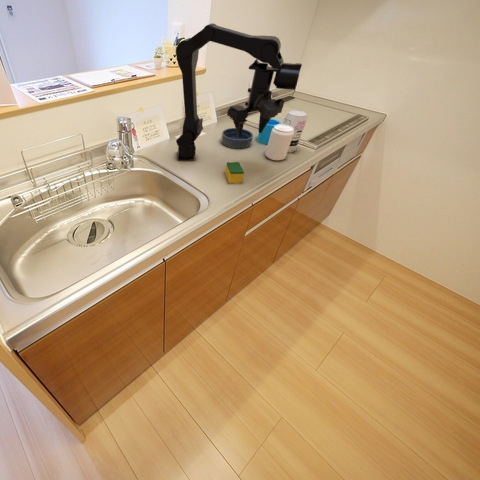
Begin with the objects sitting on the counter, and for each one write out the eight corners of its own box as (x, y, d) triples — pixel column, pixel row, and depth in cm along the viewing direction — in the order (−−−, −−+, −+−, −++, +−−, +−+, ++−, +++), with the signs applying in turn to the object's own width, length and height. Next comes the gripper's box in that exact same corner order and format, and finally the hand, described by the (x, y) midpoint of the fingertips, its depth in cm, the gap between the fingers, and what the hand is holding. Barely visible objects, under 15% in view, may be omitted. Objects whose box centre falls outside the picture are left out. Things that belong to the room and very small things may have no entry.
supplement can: (279, 143, 122) (290, 107, 112) (298, 148, 118) (311, 112, 108) (272, 149, 118) (283, 113, 107) (291, 155, 114) (304, 118, 104)
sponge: (241, 182, 98) (243, 171, 95) (228, 183, 98) (231, 171, 95) (236, 173, 103) (239, 162, 100) (224, 173, 103) (227, 162, 100)
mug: (268, 145, 120) (273, 127, 115) (253, 139, 125) (257, 121, 119) (284, 139, 125) (290, 120, 120) (269, 133, 130) (274, 115, 125)
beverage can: (289, 159, 111) (299, 130, 103) (273, 163, 109) (282, 133, 101) (276, 151, 117) (285, 122, 108) (260, 154, 115) (268, 125, 106)
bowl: (224, 149, 118) (225, 140, 115) (218, 136, 127) (219, 128, 125) (254, 149, 118) (256, 140, 115) (246, 136, 128) (248, 127, 125)
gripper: (253, 97, 78) (241, 149, 89) (302, 89, 84) (285, 139, 95) (230, 87, 86) (222, 136, 96) (277, 80, 91) (264, 127, 102)
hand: (249, 135), depth 97 cm, fingers open, 9 cm apart
